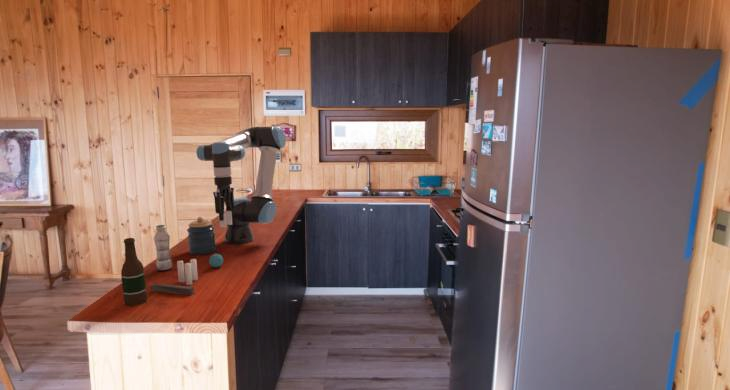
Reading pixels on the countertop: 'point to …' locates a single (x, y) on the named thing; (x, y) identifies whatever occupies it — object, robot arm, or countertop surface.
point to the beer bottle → (133, 276)
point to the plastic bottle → (162, 248)
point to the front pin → (194, 269)
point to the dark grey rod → (172, 289)
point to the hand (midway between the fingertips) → (226, 225)
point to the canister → (201, 237)
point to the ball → (216, 260)
